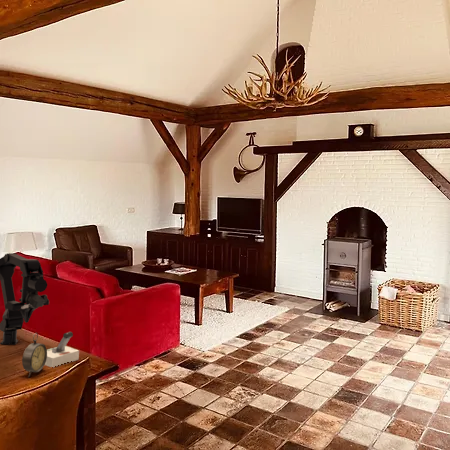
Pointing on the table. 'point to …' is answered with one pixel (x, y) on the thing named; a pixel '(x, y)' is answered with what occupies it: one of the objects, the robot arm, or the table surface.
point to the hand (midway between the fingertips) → (26, 322)
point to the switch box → (61, 356)
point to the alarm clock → (34, 357)
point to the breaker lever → (64, 341)
